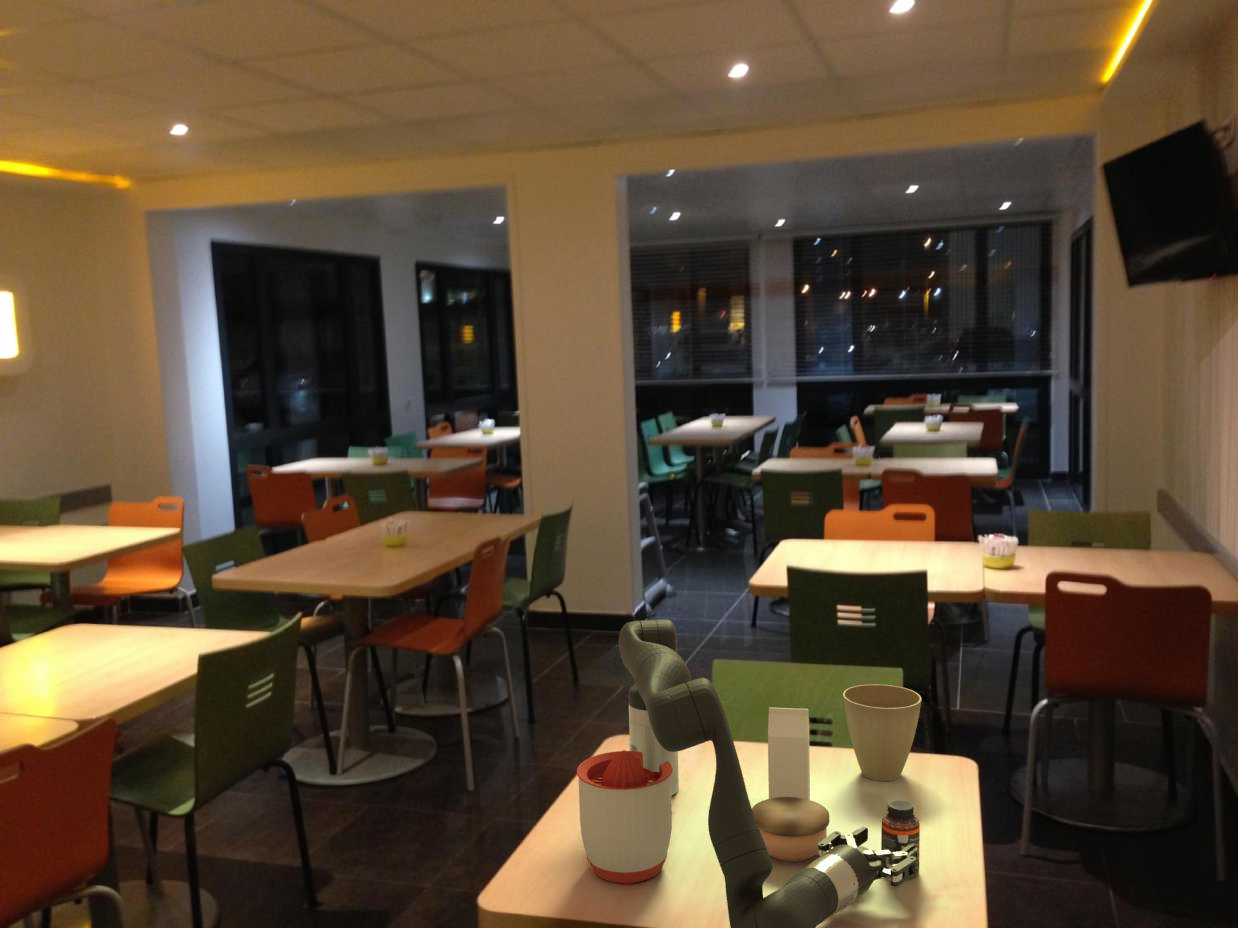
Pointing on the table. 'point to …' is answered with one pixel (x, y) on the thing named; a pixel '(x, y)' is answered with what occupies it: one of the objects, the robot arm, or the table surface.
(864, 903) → the table surface
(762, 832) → the terracotta bowl
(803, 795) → the milk carton
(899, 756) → the plant pot
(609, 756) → the citrus juicer
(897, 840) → the supplement bottle
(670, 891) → the table surface
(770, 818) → the walnut lid
